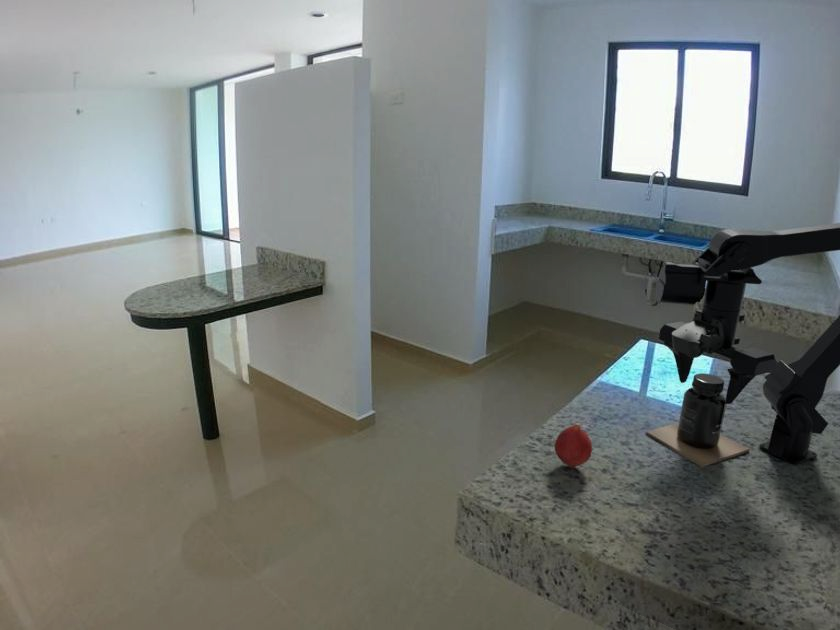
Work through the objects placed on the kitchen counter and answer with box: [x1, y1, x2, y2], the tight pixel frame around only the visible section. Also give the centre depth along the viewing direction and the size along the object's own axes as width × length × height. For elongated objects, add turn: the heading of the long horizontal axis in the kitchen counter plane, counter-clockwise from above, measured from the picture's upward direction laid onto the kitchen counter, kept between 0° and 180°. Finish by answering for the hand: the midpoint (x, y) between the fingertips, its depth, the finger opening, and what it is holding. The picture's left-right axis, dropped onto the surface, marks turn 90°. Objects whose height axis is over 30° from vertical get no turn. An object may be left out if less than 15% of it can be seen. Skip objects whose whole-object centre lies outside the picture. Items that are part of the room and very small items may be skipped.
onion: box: [554, 422, 593, 469], centre depth 93 cm, size 6×6×8 cm
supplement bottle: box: [677, 373, 728, 449], centre depth 101 cm, size 7×7×12 cm
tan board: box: [645, 422, 750, 468], centre depth 102 cm, size 12×12×1 cm
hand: (704, 392), depth 100 cm, fingers open, 9 cm apart
